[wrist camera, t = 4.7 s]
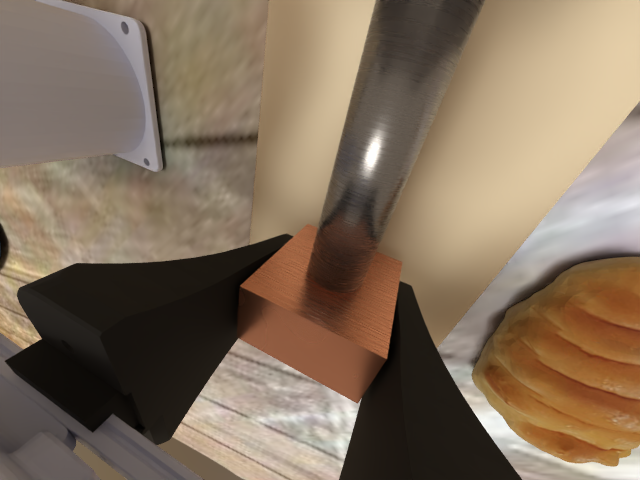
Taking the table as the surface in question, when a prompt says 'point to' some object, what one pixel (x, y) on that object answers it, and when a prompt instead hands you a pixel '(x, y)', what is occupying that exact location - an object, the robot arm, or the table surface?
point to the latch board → (450, 132)
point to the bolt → (359, 205)
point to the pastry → (571, 364)
